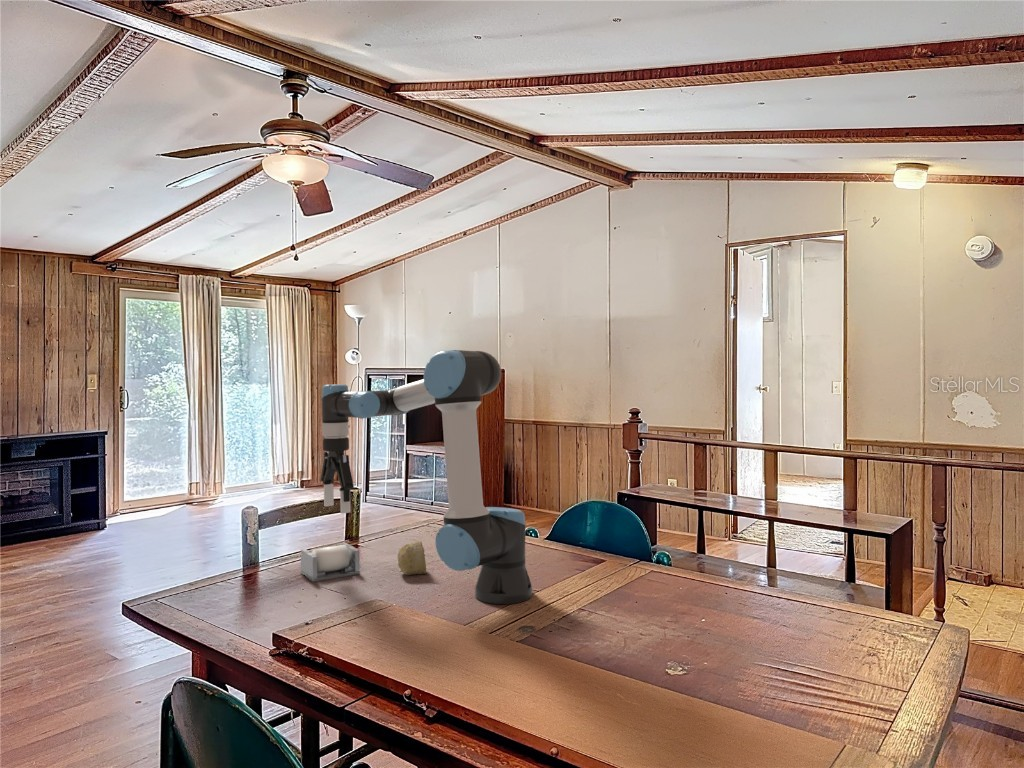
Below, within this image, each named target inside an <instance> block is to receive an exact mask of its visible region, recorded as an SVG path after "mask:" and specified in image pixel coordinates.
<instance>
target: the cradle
mask: <svg viewBox="0 0 1024 768" xmlns="http://www.w3.org/2000/svg"><path fill="white" fill-rule="evenodd" d="M341 545H346V547H347V549H348V552H349V566H348V567H346V568H344V569H341V570H336V571H330V572H324V571H323V572H317V556H315V555H314V554H312V551H311V552H310V551H309V550H308V549H306V548H301V549H300V574H302V576H304V575H305V576H306V577H305V576H304V577H305V578H307V579H308V580H310V581H311V582H312V583H315V582H320V581H327V580H332V579H339V578H344V577H349V576H355V575H360V574H361V573H360V549H358V548H356V547H354V546H353V545H350V544H349V543H347V542H342V543H341Z"/></svg>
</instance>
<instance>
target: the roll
mask: <svg viewBox="0 0 1024 768" xmlns="http://www.w3.org/2000/svg"><path fill="white" fill-rule="evenodd" d="M311 553H312V554H314V555H315V556H317V572H323V571H324V572H330V571H336V570H341V569H344V568H346V567H348V566H349V552H348V549H347V547H346V545H342V544H339V545H332V546H327V547H320V548H313V550H312V551H311Z"/></svg>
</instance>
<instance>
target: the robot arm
mask: <svg viewBox="0 0 1024 768" xmlns="http://www.w3.org/2000/svg"><path fill="white" fill-rule="evenodd" d="M501 368H502V367H501V365H500V363H499V361H498V359H496V357H495V356H493V355H492V354H490V353H488V352H485V351H481V350H464V349H463V350H460V349H450V350H443V351H438V352H437V353H435V354H432V356H431V357H430V359H429V360H428V362H427V363H426V365H425V368H424V372H423V379H420V380H419V379H418V380H417V381H413V382H410V383H406V384H404V385H401V386H398V387H396V388H395V387H394V388H391V389H387V390H384V389H383V390H355V391H354V390H353V391H351V390H350V391H349V386H348V385H347V384H324V385H323V386H322V388H321V398H320V399H321V418H322V419H321V420H322V422H321V435H322V437H324V438H323V439H322V451H324V452H323V463H322V468H321V475H320V482H322V484H323V506H324V507H333V506H334V505H335V504H334V503H335V502H334V500H335V499H334V484H335V481H334V477H335V474H336V475H337V478H338V481H339V485H340V487H339V497H340V498H339V499H340V501H339V502H340V514H341V515H342V514H348V513H350V514H351V510H352V508H351V506H352V505H351V490H352V489H354V488H355V487H354V481H353V476H352V470H351V466H350V456H349V454H345V453H344V452H346V451H349V449H350V438H349V437H348V436H349V435H350V433H349V429H350V428H351V425H350V424H349V418H353V419H354V418H357V419H370V418H373V417H374V418H375V417H383V416H386V417H387V416H400V415H405V414H407V413H409V412H410V411H412V410H416V409H419V408H422V407H425V406H426V407H427V406H430V405H433V404H434V405H435V407H436V408H437V409H438V410H439V411H440V412H441V417H442V420H441V421H442V431H443V432H442V433H443V443H444V446H443V447H444V457H445V458H444V459H445V473H446V486H447V487H446V488H447V501H448V509H447V510H446V511H445V513H443V526H442V527H440V528H439V529H438V530H437V531H438V532H436V534H435V549H436V552H437V554H438V557H439V558H440V560H441V561H442V562H443V563H444V565H446V567H448V568H449V569H451V570H453V571H458V572H463V571H467V570H468V571H469V570H473V569H476V568H477V567H480V571H479V573H478V577H477V579H476V584H475V587H474V597H475V598H476V599H477V600H478V601H480V602H484V603H489V604H497V605H511V604H517V603H523V602H526V601H527V600H529V599H531V598H532V597H533V585H532V582H531V580H530V576H529V573H528V570H527V566H526V527H527V525H526V516H525V513H524V512H523V511H522V510H520V509H516V508H510V507H502V506H501V507H499V506H486V507H485V505H484V499H483V485H482V473H481V472H482V471H481V459H480V457H481V456H480V445H479V432H478V430H479V429H478V418H477V409H478V408H479V406H480V405H481V404H482V396H484V395H488V394H490V393H492V392H494V391H495V390H496V389H497V387H498V386H499V384H500V383H501V379H502V369H501Z"/></svg>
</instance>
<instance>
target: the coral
mask: <svg viewBox="0 0 1024 768" xmlns="http://www.w3.org/2000/svg"><path fill="white" fill-rule="evenodd" d="M397 561H398V562H397V566H398V568H399V569H400V571H401V572H402V573H403V574H404V575H407V576H413V575H423V574H427V573H428V572H427V564H426V554H425V548H424V545H423V542H422V540H421V541H415V542H411V543H406V544H405V545H402V546H401V547H400V549H399V550H398V553H397Z"/></svg>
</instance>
